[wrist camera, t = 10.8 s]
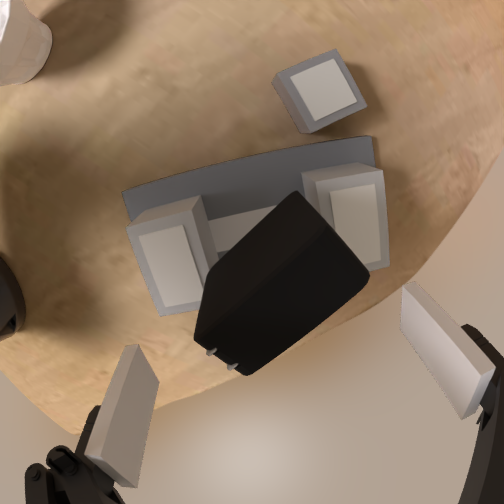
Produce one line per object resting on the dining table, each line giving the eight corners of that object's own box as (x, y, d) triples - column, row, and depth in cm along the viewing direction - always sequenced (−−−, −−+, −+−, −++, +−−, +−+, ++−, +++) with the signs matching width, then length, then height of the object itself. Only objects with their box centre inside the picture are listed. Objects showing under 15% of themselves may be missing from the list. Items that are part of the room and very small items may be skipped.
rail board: (165, 301, 35) (150, 340, 28) (126, 189, 30) (95, 207, 23) (378, 254, 34) (408, 284, 27) (365, 135, 29) (400, 138, 22)
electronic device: (327, 224, 25) (375, 279, 15) (241, 300, 27) (242, 381, 18) (294, 187, 23) (329, 224, 14) (206, 270, 26) (190, 345, 16)
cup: (55, -8, 19) (6, -35, 9) (77, 58, 24) (19, 38, 14) (-10, 52, 21) (-63, 45, 11) (7, 118, 25) (-54, 125, 15)
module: (299, 133, 29) (311, 133, 24) (271, 82, 27) (277, 72, 22) (348, 109, 28) (368, 106, 23) (321, 60, 26) (336, 48, 21)
